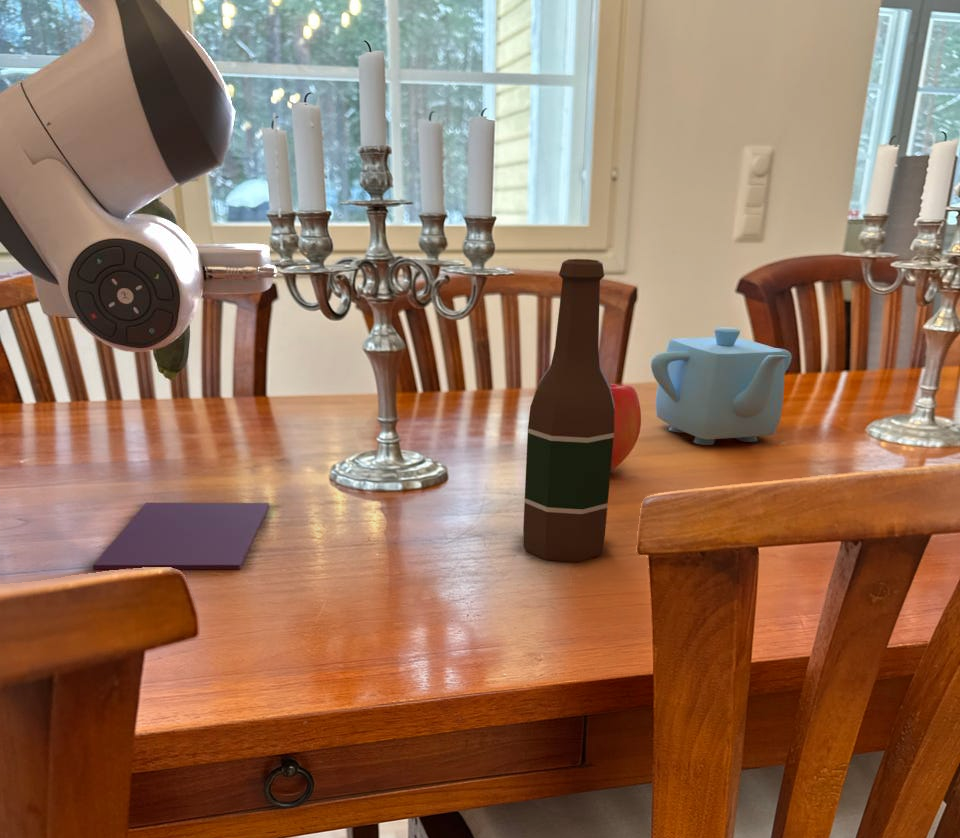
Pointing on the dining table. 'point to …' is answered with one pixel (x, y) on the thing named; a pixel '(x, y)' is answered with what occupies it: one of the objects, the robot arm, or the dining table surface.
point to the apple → (624, 422)
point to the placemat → (186, 536)
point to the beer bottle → (571, 430)
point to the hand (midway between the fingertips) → (161, 260)
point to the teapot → (720, 386)
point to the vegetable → (177, 352)
